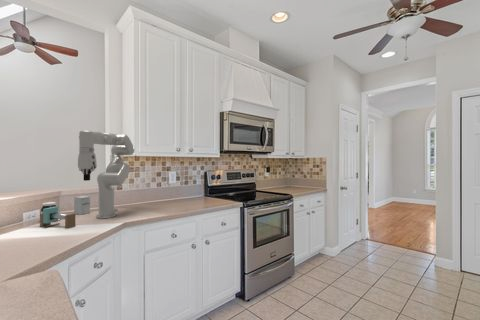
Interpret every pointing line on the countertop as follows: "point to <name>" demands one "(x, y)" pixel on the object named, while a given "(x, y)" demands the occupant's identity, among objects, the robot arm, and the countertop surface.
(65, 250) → the countertop surface
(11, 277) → the countertop surface
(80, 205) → the supplement box
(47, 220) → the teal flat block
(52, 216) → the brown wooden rack
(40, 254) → the countertop surface
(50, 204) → the spread jar
